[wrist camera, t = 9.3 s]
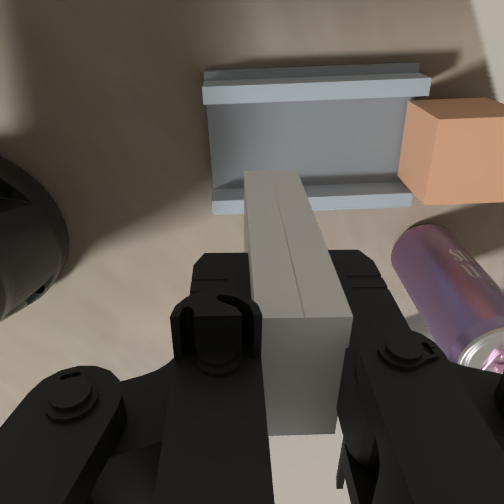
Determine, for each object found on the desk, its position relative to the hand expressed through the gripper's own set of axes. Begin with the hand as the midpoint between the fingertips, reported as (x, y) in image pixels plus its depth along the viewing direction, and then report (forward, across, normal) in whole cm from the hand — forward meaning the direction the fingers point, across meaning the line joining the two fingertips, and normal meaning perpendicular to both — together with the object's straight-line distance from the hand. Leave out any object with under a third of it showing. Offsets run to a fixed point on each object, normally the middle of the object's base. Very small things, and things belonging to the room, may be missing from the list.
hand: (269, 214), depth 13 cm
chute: (+24, +5, -4) cm, 25 cm away
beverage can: (+24, +17, -15) cm, 33 cm away
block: (+22, +15, -4) cm, 27 cm away
